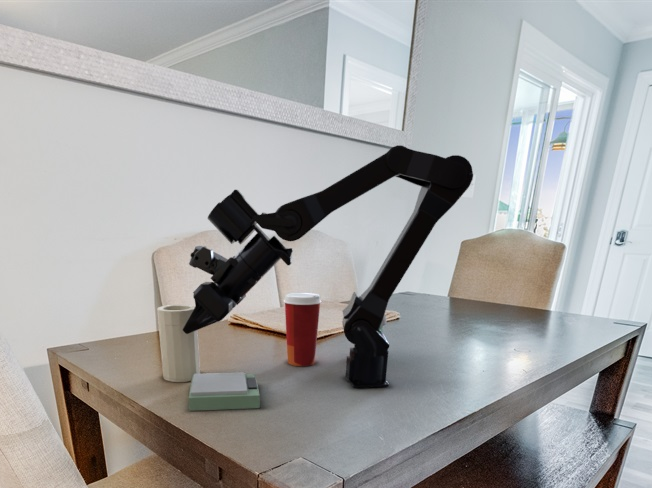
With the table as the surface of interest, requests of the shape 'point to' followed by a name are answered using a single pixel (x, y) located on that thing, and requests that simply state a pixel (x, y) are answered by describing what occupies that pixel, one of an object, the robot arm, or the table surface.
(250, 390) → the scale
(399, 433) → the table surface
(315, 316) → the paper cup
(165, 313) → the canister
